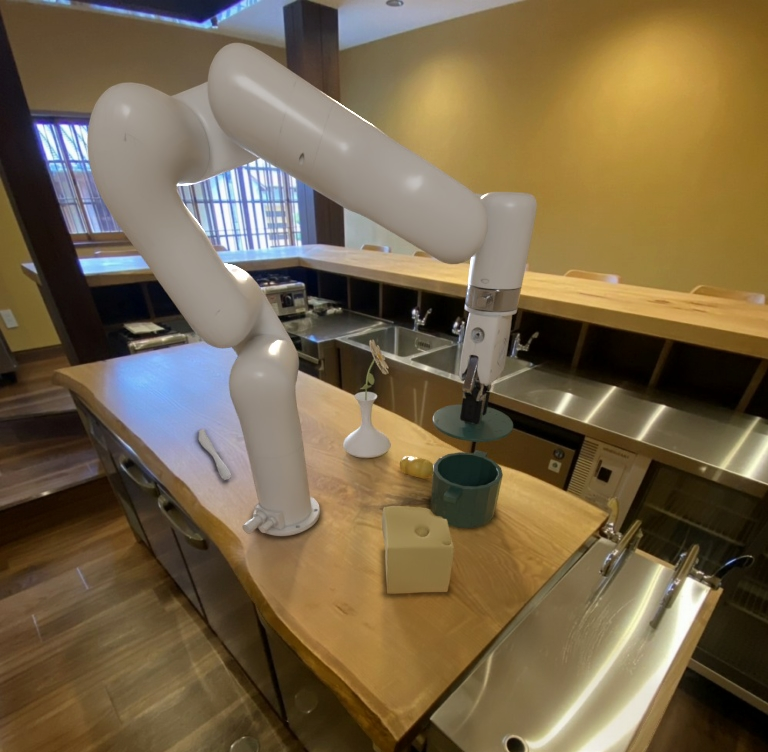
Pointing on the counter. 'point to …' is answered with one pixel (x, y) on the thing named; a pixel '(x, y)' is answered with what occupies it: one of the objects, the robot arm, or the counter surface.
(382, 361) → the flower in vase
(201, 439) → the butter knife
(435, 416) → the lid
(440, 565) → the cheese
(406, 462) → the yellow capsule
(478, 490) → the pot
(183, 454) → the counter surface
